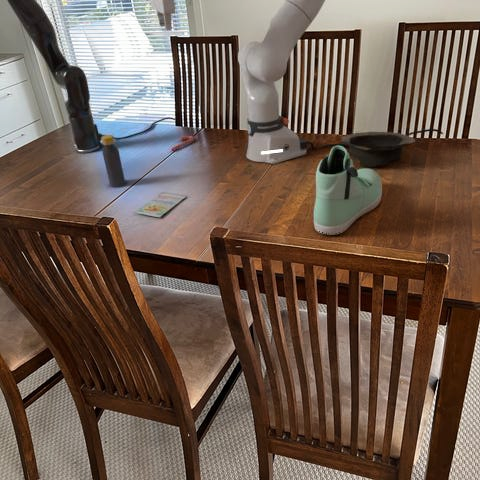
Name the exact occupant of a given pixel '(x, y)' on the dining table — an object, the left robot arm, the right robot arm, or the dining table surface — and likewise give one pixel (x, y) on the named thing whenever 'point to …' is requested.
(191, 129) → the dining table surface
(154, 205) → the baking ingredient package
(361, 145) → the stone bowl
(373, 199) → the sneaker
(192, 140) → the candy cane
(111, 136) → the cap
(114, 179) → the bottle
